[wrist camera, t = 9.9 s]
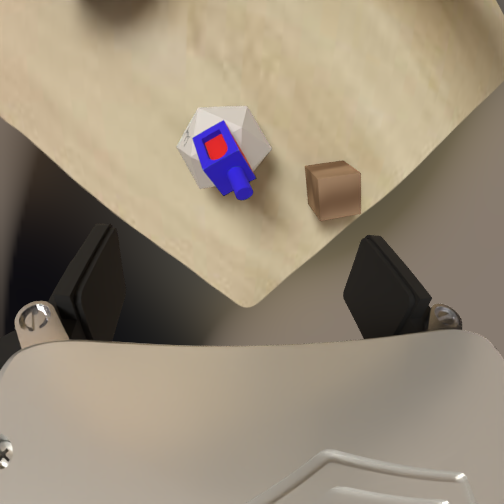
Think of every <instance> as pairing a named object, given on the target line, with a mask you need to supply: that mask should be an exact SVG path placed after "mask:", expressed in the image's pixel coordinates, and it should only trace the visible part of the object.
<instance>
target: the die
mask: <svg viewBox="0 0 504 504" xmlns="http://www.w3.org/2000/svg"><path fill="white" fill-rule="evenodd" d="M223 120H224V121H225V123H226V124H227V126H228V128H229V130H230V132H231V134H232V135H233V137H234V139H235V140H236V142H237V144H238V145H239V147H240V149H241V150H242V152H243V154H244V155H245V157H246V159H247V161H248V163H249V165H250V167H251V169H252V171H254V170H255V169H256V168H257V167H258V165H259V164H260V163H261V162H262V160H263V159H264V158H265V157H266V156H267V154H268V153H269V152H270V151H271V150H272V148H271V146H270V144H269V142H268V141H267V139H266V137H265V135H264V134H263V132H262V130H261V128H260V127H259V125H258V123H257V122H256V120H255V118H254V116H253V115H252V113H251V111H250V110H249V108H248V106H225V107H204V108H198V109H197V111H196V112H195V114H194V116H193V118H192V119H191V121H190V123H189V125H188V126H187V128H186V130H185V132H184V134H183V135H182V137H181V139H180V141H179V143H178V145H177V146H176V147H177V149H178V151H179V152H180V154H181V156H182V158H183V160H184V161H185V163H186V165H187V167H188V169H189V170H190V172H191V174H192V176H193V178H194V179H195V181H196V183H197V185H198V187H199V188H200V189H202V188H208V187H214V186H215V185H214V184H213V182H212V181H211V180H210V179H209V177H208V176H207V175H206V174H205V173H204V171H203V170H202V167H201V164H200V161H199V158H198V155H197V151H196V148H195V145H194V142H193V139H192V138H193V137H195V136H196V135H198V134H200V133H201V132H203V131H205V130H207V129H208V128H210V127H212V126H214V125H215V124H217V123H219V122H221V121H223Z"/></svg>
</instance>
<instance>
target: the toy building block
mask: <svg viewBox="0 0 504 504" xmlns="http://www.w3.org/2000/svg"><path fill="white" fill-rule="evenodd" d="M192 139H193V142H194V145H195V148H196V151H197V155H198V158H199V161H200V164H201V167H202V170H203V171H204V173H205V174H206V175H207V176H208V177H209V179H210V180H211V181H212V182H213V184H214V185H215V186H216V187H217V189H218V190H219V191H220V192H221V194H222V195H223V196H225V195H227V194H228V193H230V192H232V191H234V193H235V196H236V198H237V199H238V200H246V199H248V198H250V197H251V196H252V194H253V190H252V188H251V186H250V183H249V182H250V181H252V180H254V179H256V176H255V175H254V173H253V171H252V169H251V167H250V165H249V163H248V161H247V159H246V157H245V155H244V154H243V152H242V150H241V149H240V147H239V145H238V144H237V142H236V140H235V139H234V137H233V135H232V134H231V132H230V130H229V128H228V126H227V124H226V123H225V121H224V120H223V121H221V122H219V123H217V124H215V125H214V126H212V127H210V128H208V129H207V130H205V131H203V132H201V133H200V134H198V135H196V136H195V137H193V138H192Z"/></svg>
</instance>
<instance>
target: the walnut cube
mask: <svg viewBox="0 0 504 504" xmlns="http://www.w3.org/2000/svg"><path fill="white" fill-rule="evenodd" d="M305 173H306V184H307V196H308V204H309V206H310V207H311V208H312V210H313V211H314V213H315V214H316V215H317V217H318V218H319V220H320V221H324V220H329V219H335V218H340V217H346V216H351V215H356V214H361V173H360V172H359V171H357V170H356V169H354V168H353V167H352V166H350V165H349V164H347V163H346V162H345V161H336V162H329V163H322V164H315V165H308V166H305Z"/></svg>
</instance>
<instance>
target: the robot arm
mask: <svg viewBox="0 0 504 504" xmlns="http://www.w3.org/2000/svg"><path fill="white" fill-rule="evenodd" d="M125 294H126V287H125V281H124V275H123V269H122V263H121V256H120V249H119V241H118V233H117V229H116V228H113V227H112V225H111V224H96V225H95V226H94V228H93V229H92V231H91V232H90V234H89V235H88V237H87V238H86V240H85V241H84V243H83V245H82V246H81V248H80V249H79V251H78V252H77V254H76V256H75V257H74V259H73V260H72V261H71V263H70V264H69V266H68V267H67V269H66V271H65V273H64V274H63V276H62V278H61V279H60V281H59V283H58V285H57V286H56V288H55V290H54V292H53V293H52V295H51V297H50V299H49V301H48V302H45V301H35V302H32V303H30V304H28V305H26V306H24V307H23V308H22V309H21V310H20V311H19V313H18V314H17V316H16V319H15V328H16V330H15V331H13V332H11V333H9V334H7V335H5V336H3V337H2V338H0V504H504V359H503V358H502V356H501V355H500V353H499V352H498V351H497V349H496V348H495V347H494V346H493V345H492V344H491V343H490V341H489V340H487V339H486V338H485V337H483V336H481V335H479V334H476V333H474V332H469V331H465V330H462V319H461V318H460V316H459V314H458V313H457V312H456V311H455V310H453V309H452V308H451V307H449V306H447V305H444V304H434V305H433V306H432V307H431V308H430V307H429V303H430V301H431V299H432V297H431V296H430V295H429V293H428V292H427V291H426V289H425V288H424V287H423V286H422V284H421V283H420V282H419V281H418V279H417V278H416V277H415V276H414V274H413V273H412V272H411V271H410V270H409V268H408V267H407V266H406V265H405V264H404V262H403V261H402V260H401V259H400V258H399V257H398V255H397V254H396V253H395V252H394V251H393V249H392V248H391V247H390V246H389V245H388V244H387V243H386V241H385V240H384V239H383V238H382V237H381V236H374V235H367V236H366V237H365V238H363V239H362V240H361V242H360V245H359V248H358V252H357V254H356V257H355V260H354V263H353V266H352V269H351V272H350V275H349V278H348V281H347V283H346V286H345V289H344V294H343V297H344V300H345V302H346V304H347V306H348V308H349V310H350V312H351V314H352V316H353V318H354V320H355V322H356V324H357V325H358V328H359V329H360V332H361V334H362V336H363V338H364V339H360V340H350V341H337V342H324V343H311V344H310V343H309V344H291V345H266V346H182V345H159V344H158V345H157V344H141V343H127V342H112V340H113V336H114V333H115V329H116V326H117V322H118V319H119V315H120V312H121V308H122V305H123V302H124V298H125Z"/></svg>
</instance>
